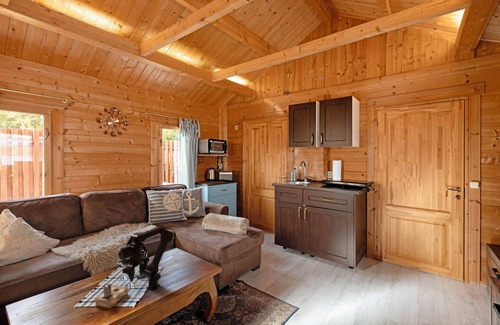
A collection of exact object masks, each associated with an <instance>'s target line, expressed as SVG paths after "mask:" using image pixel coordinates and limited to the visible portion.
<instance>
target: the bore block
mask: <svg viewBox="0 0 500 325" xmlns="http://www.w3.org/2000/svg"><path fill="white" fill-rule="evenodd" d="M111 293H112V297H110V298H109V299H104V292H103V293H102V294H100V295H99V296H98V297H96V298H95V299H94V300H95V303H94V304H95V307H97V308H103V309H109V310H110V309H111V308H113V307H114V306H116V305H117V304H118V303H119V302H120V301H122V300H123V299H124V298H125V297H127V295H128V293H129V288H128V287H126V286H118V285H113V286H111Z"/></svg>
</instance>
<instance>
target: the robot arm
mask: <svg viewBox="0 0 500 325" xmlns="http://www.w3.org/2000/svg"><path fill="white" fill-rule="evenodd" d="M157 235H160V243H159V245H158V246H157V249H156V252H155V254H154V256H153V259H152V260H151V263H149V262H150V257H148V256H144V254H143V253H142V247H143V246H145V243H144V242H146V240H147V239H149V238H152V237H154V236H157ZM174 235H175V234H174V232H173V231H171V230H168V229H167V228H165V227H164V226H161V225H159V226H156V227H154V228H152V229H149V230H145V231H143V232H135V233H132V234H131V235H130V237H129V238H128V240H127V243H126V244H125V246H124V247H121V248H119V249H120V250H119V251H118V253H117V255H118V258H119V259H120V261H121V265H123V266H124V267H123V269H122V274H124V275H127V277H128V279H129V281H130V282H131V283H132V282H134V278H135V274H136V268H137V267H138V266H139V273H140V275H143V274H144V276H145V277H146V279H148V286H147V287H146V289H147V290H152V291H156V290H157V289H158V288H159V287H160V286H161V284H160V283H159V280H160V279H161V277H162V275H161V274H160V273H159V271H160V269H159V268H160V267H159V265H160V262H161V260H162V258H163V255H164V253H165V251H166V248H167V246H168V244H169V243H171V242H172V240H173V238H174ZM148 263H149V264H148ZM126 265H127V266H126Z"/></svg>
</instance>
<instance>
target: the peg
mask: <svg viewBox="0 0 500 325" xmlns="http://www.w3.org/2000/svg"><path fill="white" fill-rule="evenodd" d="M111 288H112V284H111V283H108V284H104V285H103V293H104V299H109V298H110V297H112V293H111Z"/></svg>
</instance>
